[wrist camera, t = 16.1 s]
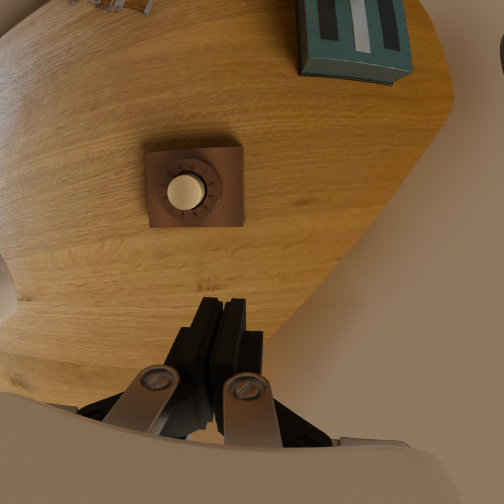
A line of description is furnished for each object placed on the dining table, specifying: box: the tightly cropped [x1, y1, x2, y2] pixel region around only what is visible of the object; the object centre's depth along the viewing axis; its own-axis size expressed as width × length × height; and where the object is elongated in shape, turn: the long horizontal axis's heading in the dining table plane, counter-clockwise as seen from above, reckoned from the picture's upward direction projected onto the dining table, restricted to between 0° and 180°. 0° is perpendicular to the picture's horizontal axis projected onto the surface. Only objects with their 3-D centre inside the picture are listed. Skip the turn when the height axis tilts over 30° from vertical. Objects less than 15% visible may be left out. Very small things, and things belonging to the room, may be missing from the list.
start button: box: [167, 174, 205, 210], centre depth 27 cm, size 3×3×2 cm
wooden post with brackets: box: [88, 0, 153, 16], centre depth 22 cm, size 2×8×4 cm, turn 72°
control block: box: [145, 146, 245, 228], centre depth 29 cm, size 10×8×4 cm
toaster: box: [295, 0, 413, 86], centre depth 21 cm, size 10×14×6 cm
